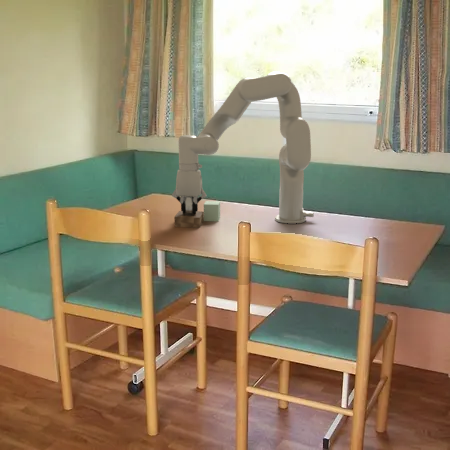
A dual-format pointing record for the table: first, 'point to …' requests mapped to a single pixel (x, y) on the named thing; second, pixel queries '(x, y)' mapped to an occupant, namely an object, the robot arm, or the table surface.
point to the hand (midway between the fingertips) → (189, 212)
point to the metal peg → (189, 205)
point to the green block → (212, 211)
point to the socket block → (189, 219)
